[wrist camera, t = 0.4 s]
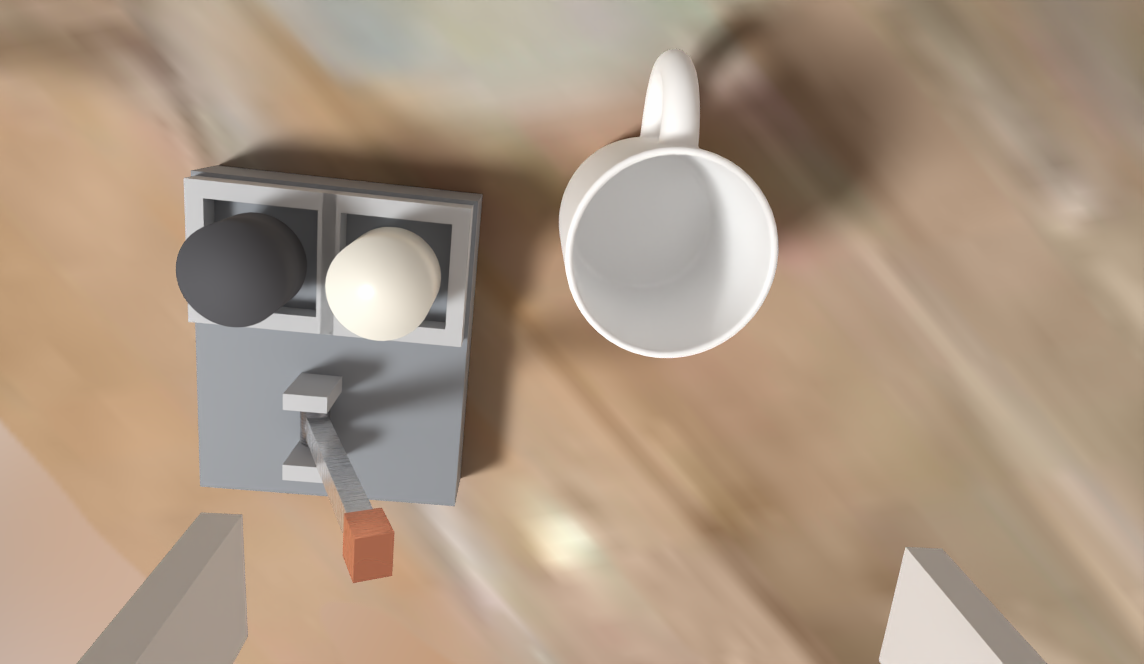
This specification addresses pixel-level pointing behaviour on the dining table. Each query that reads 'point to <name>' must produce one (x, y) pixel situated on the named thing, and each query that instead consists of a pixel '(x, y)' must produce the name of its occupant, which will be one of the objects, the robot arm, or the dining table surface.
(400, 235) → the button ivory
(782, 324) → the dining table surface
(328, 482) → the lever
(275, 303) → the button black
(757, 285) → the mug
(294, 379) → the panel
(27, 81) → the dining table surface
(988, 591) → the dining table surface
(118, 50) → the dining table surface
